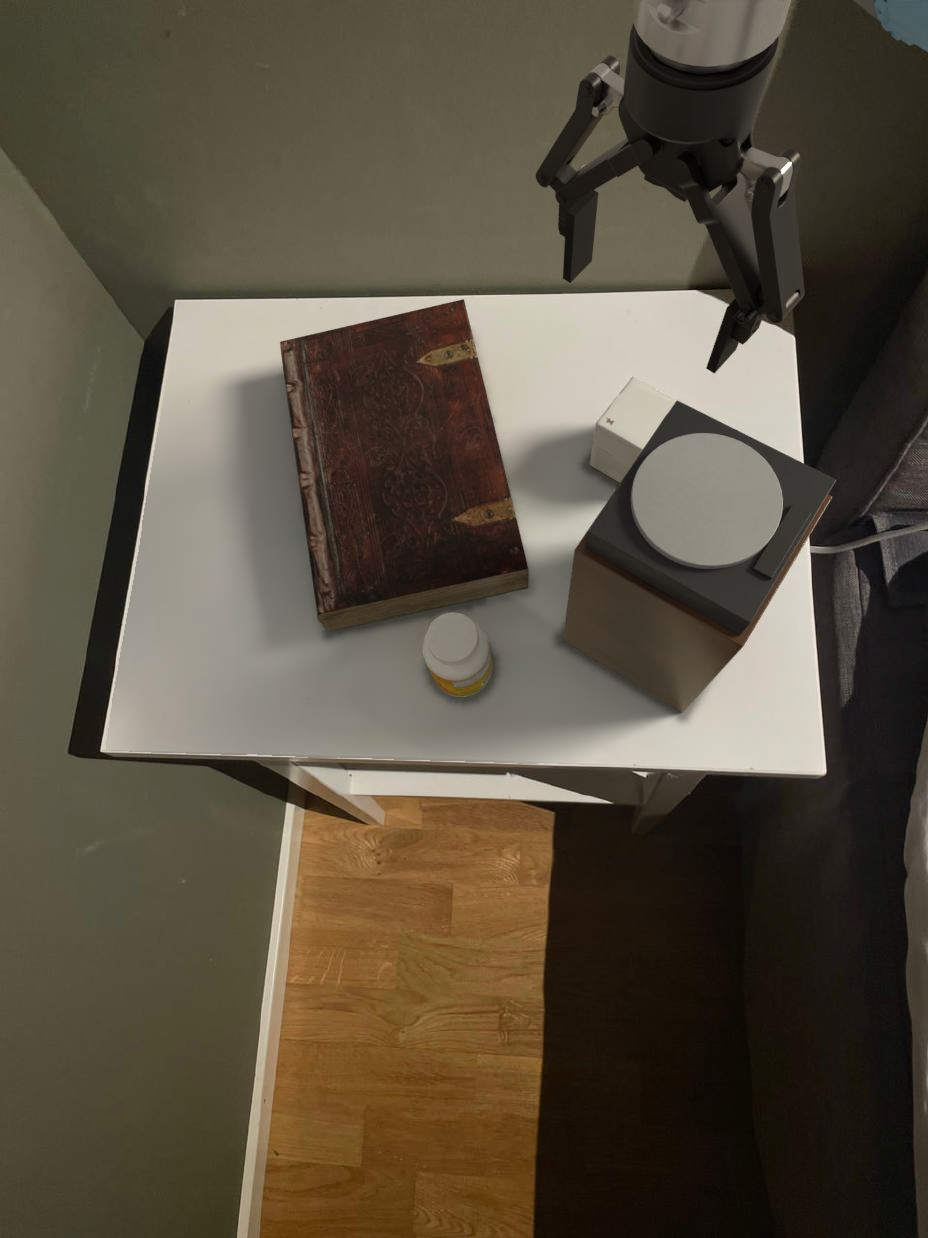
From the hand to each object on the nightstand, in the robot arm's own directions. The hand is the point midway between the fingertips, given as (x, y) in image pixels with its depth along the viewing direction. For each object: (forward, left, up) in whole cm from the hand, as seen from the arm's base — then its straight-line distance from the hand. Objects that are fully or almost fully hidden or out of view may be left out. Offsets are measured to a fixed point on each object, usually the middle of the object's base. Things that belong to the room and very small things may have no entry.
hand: (646, 313), depth 60 cm
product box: (-2, +2, -17) cm, 17 cm away
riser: (-12, +15, -16) cm, 26 cm away
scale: (-12, +15, +4) cm, 20 cm away
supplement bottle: (0, +28, -17) cm, 33 cm away
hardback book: (+16, +15, -17) cm, 27 cm away
